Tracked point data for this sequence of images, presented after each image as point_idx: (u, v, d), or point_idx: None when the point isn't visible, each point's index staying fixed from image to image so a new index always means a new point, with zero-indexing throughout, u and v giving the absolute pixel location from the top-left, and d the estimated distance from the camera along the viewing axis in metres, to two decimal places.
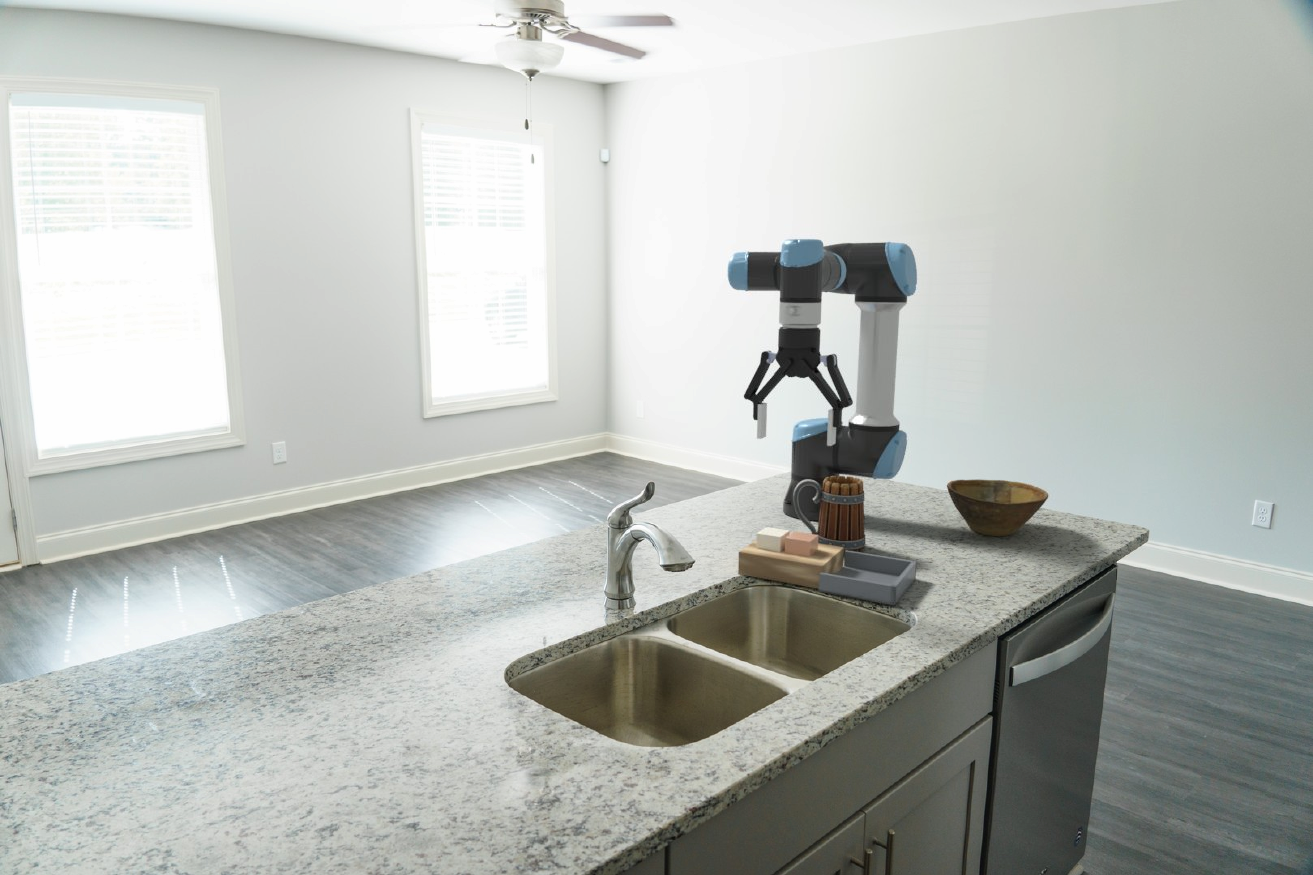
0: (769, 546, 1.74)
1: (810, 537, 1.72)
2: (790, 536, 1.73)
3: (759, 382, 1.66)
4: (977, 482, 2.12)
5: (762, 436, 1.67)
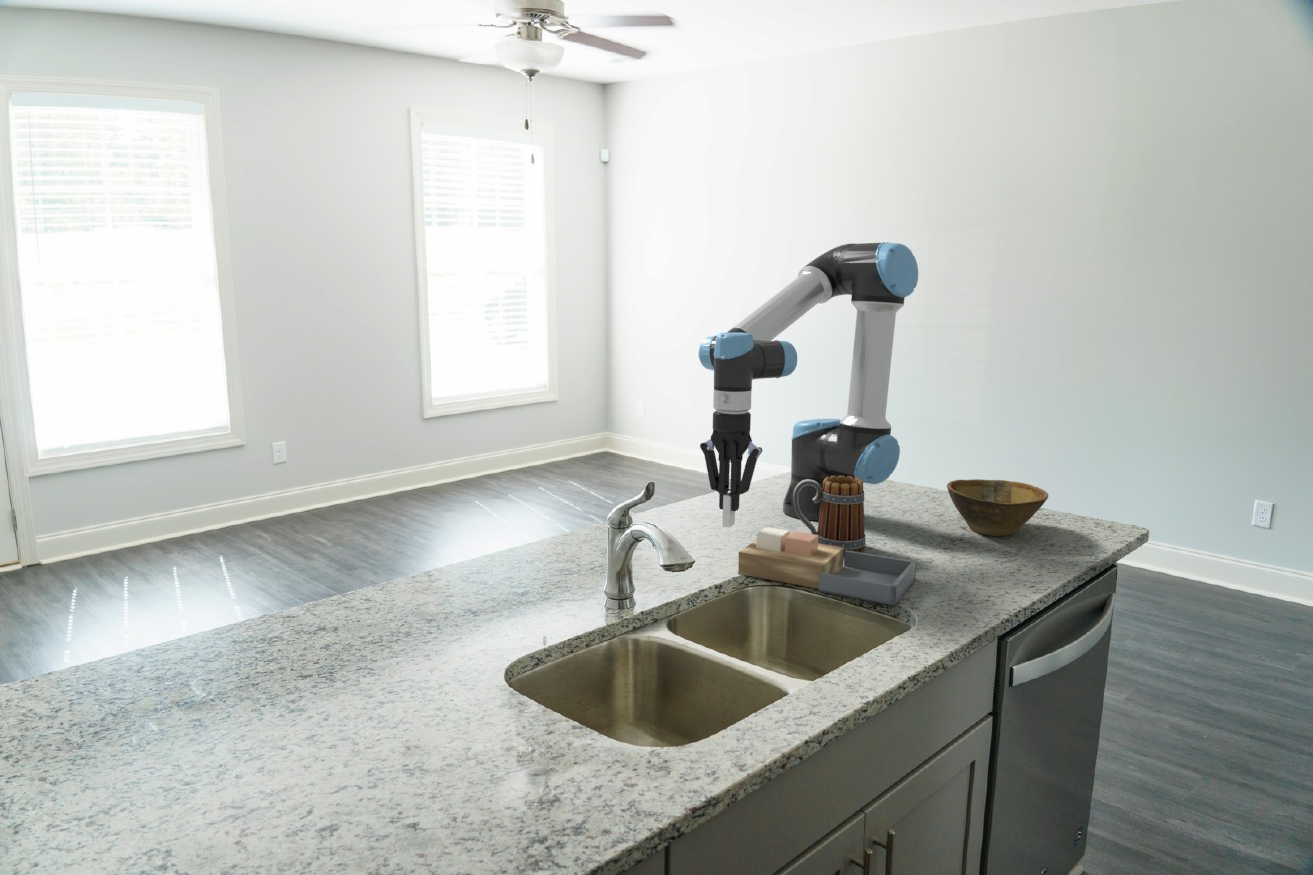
0: (769, 546, 1.74)
1: (810, 537, 1.72)
2: (790, 536, 1.73)
3: (716, 470, 1.80)
4: (977, 482, 2.12)
5: None
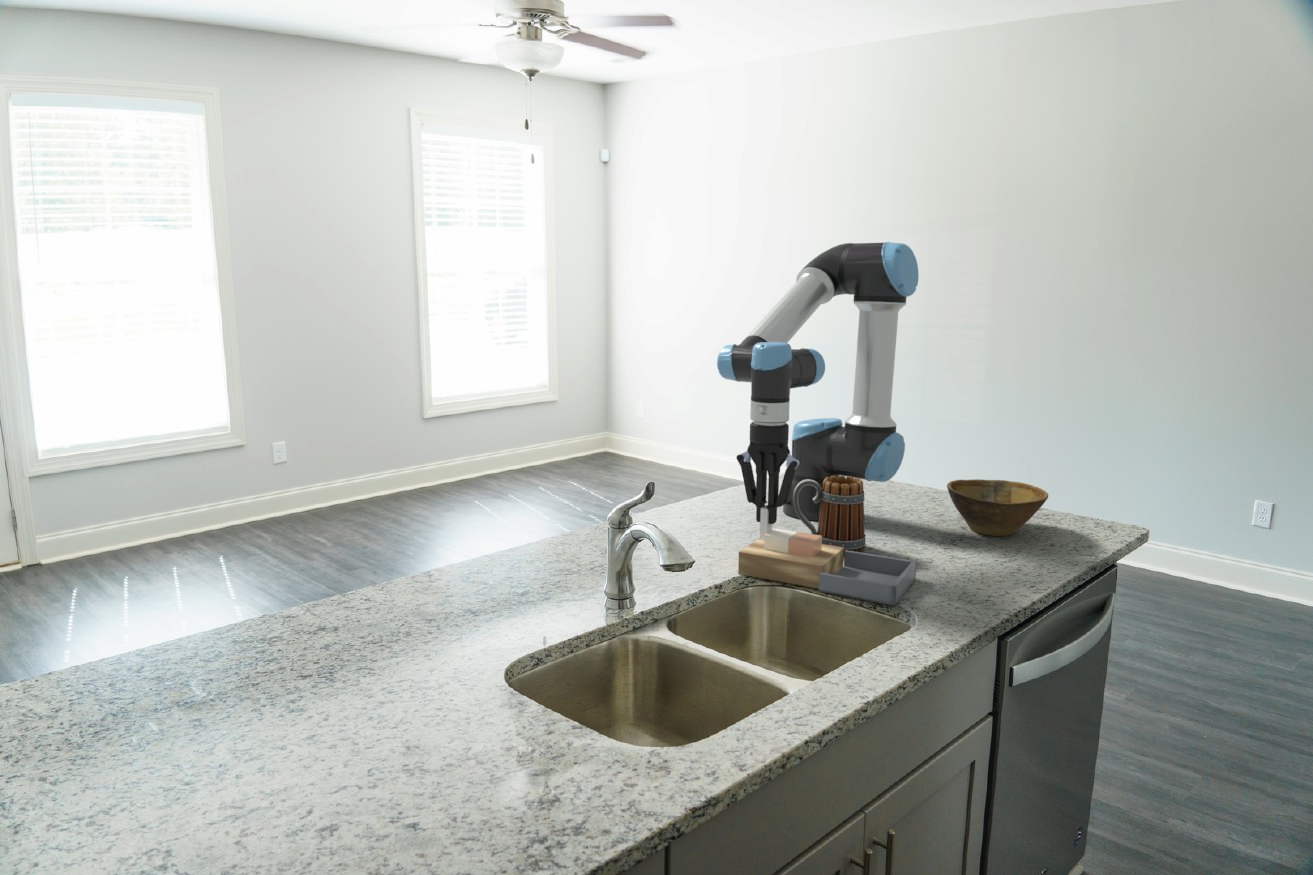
0: (777, 548, 1.73)
1: (814, 538, 1.72)
2: (793, 537, 1.73)
3: (753, 482, 1.77)
4: (977, 482, 2.12)
5: None
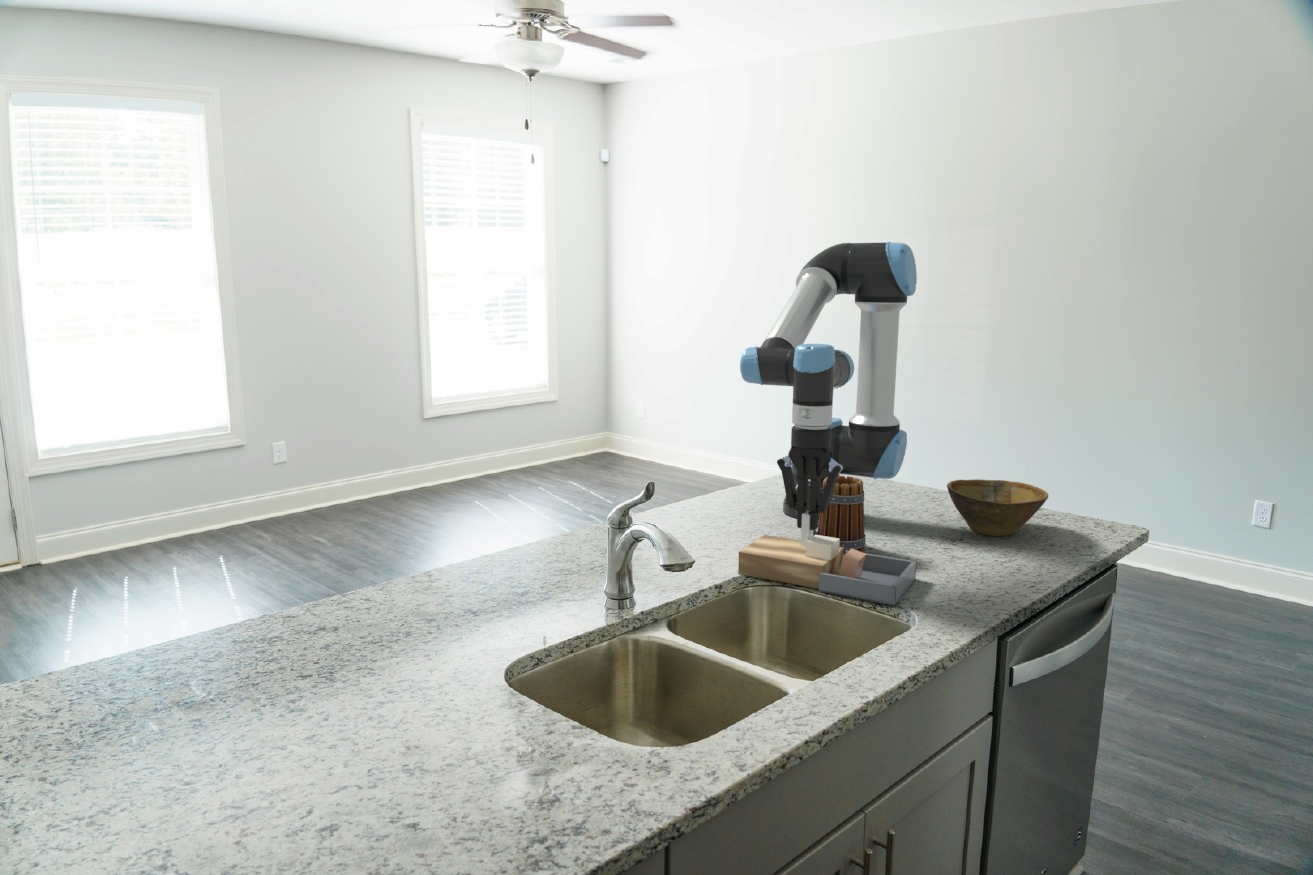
0: (819, 555, 1.69)
1: (857, 576, 1.69)
2: (860, 561, 1.67)
3: (793, 487, 1.72)
4: (977, 482, 2.12)
5: None
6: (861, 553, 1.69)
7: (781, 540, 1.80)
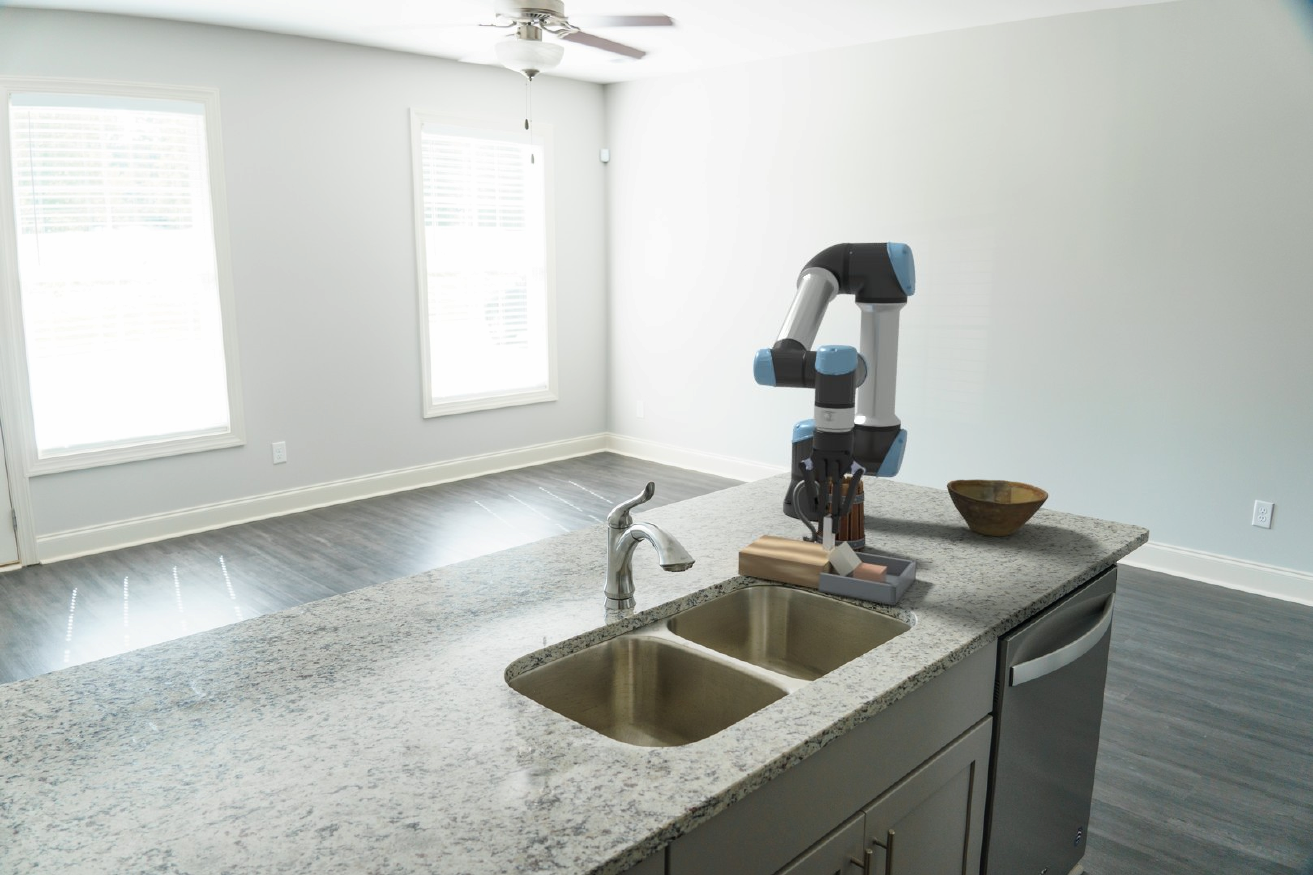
0: (837, 566, 1.67)
1: None
2: None
3: (815, 490, 1.70)
4: (977, 482, 2.12)
5: None
6: (885, 579, 1.68)
7: (781, 540, 1.80)
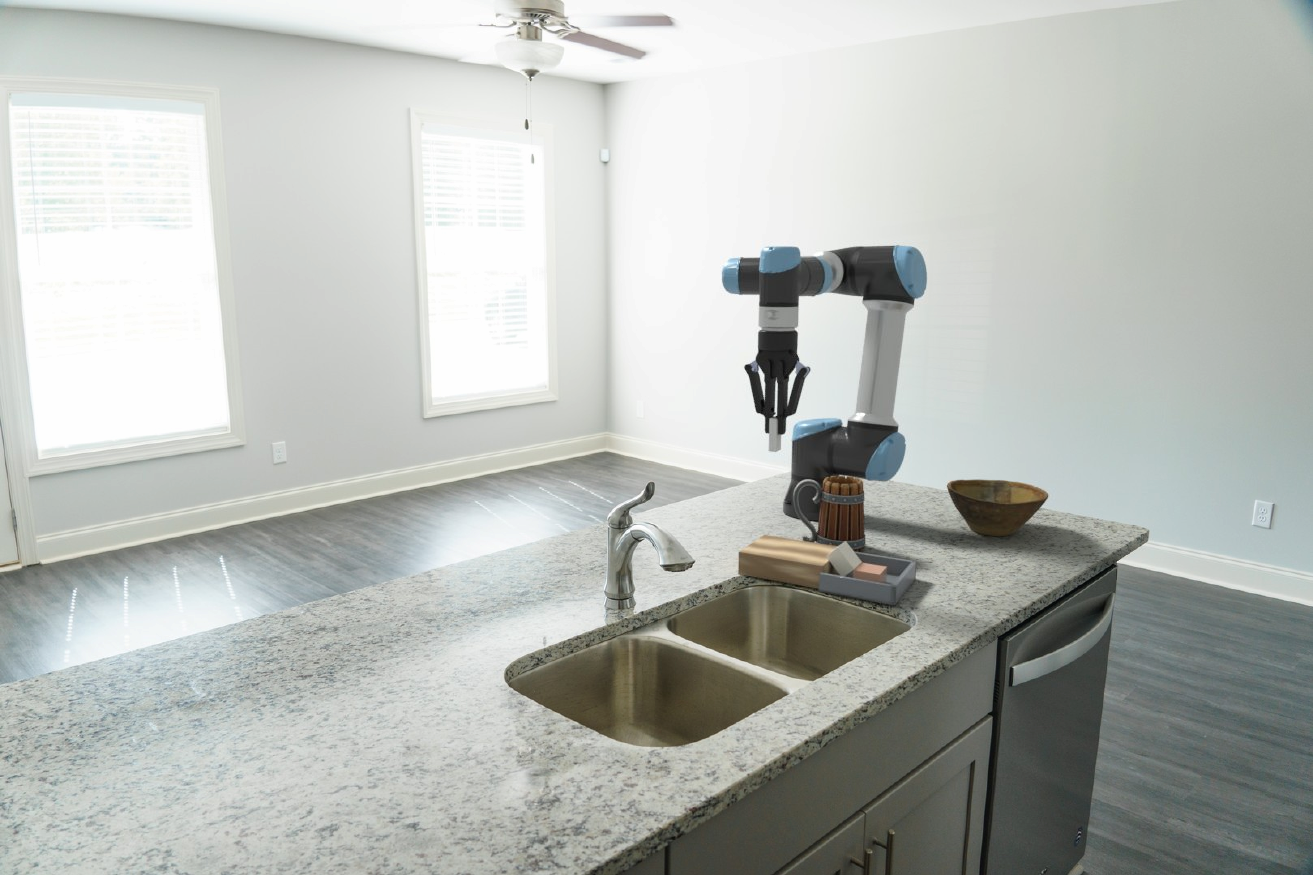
0: (837, 566, 1.67)
1: None
2: None
3: (761, 393, 1.73)
4: (977, 482, 2.12)
5: None
6: (885, 579, 1.68)
7: (781, 540, 1.80)
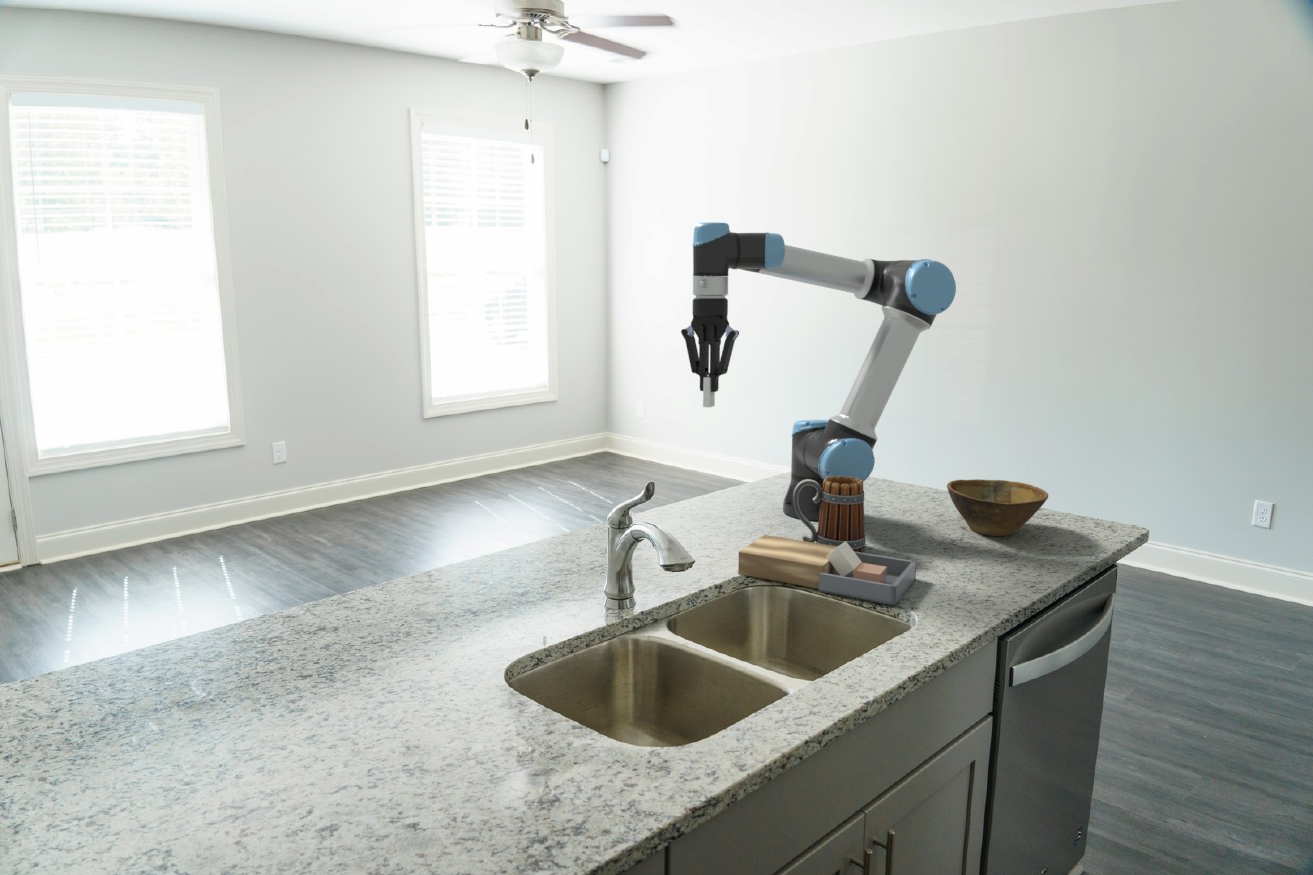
0: (837, 566, 1.67)
1: None
2: None
3: (696, 355, 1.93)
4: (977, 482, 2.12)
5: None
6: (885, 579, 1.68)
7: (781, 540, 1.80)
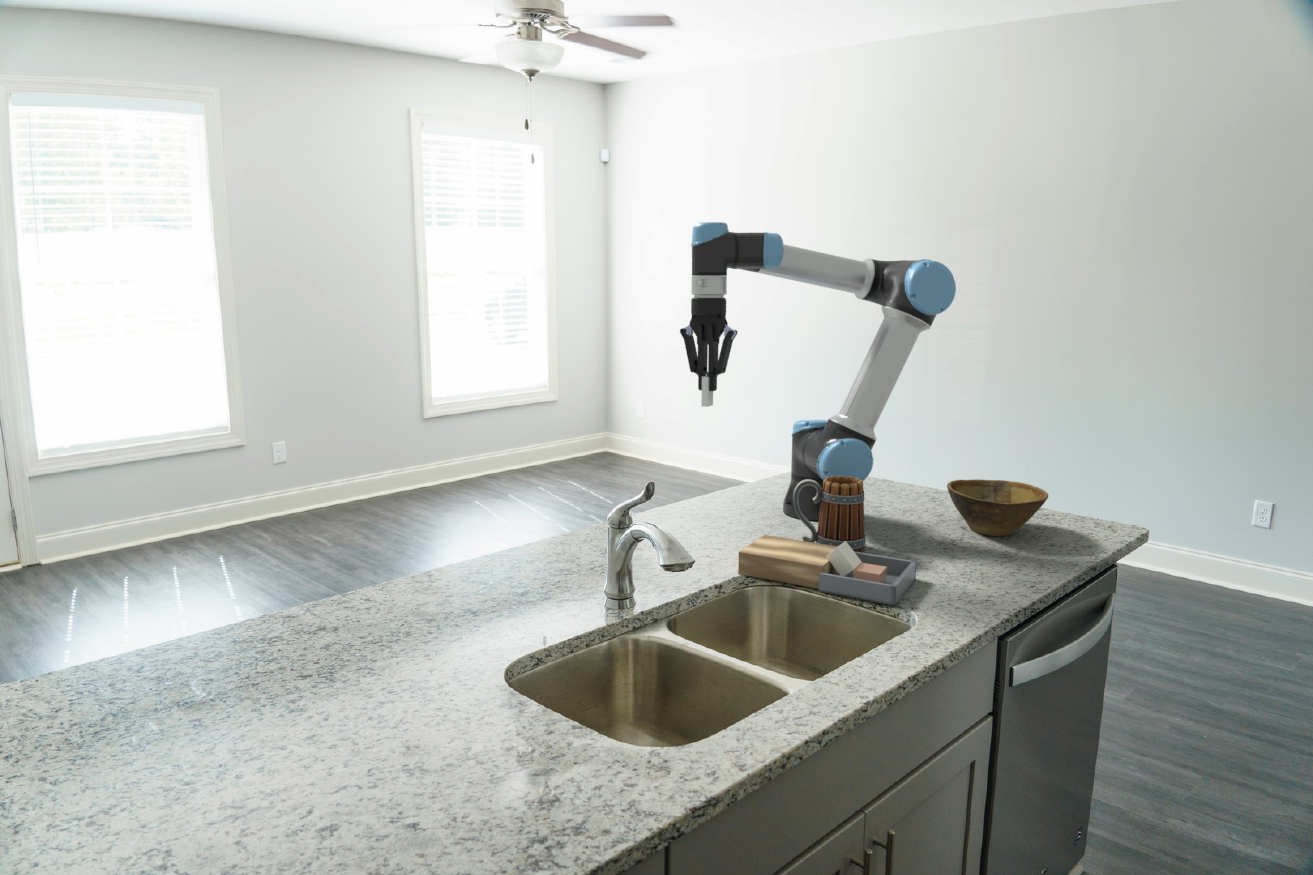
0: (837, 566, 1.67)
1: None
2: None
3: (695, 354, 1.93)
4: (977, 482, 2.12)
5: None
6: (885, 579, 1.68)
7: (781, 540, 1.80)
